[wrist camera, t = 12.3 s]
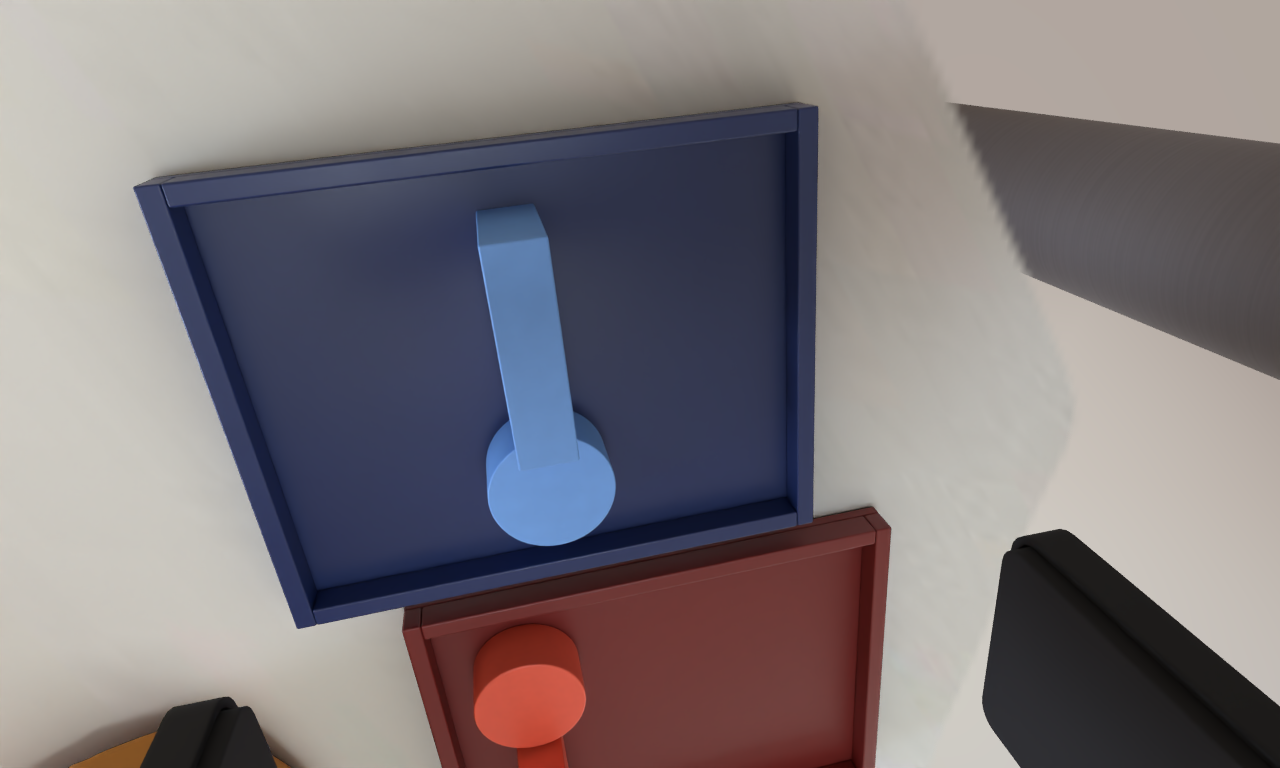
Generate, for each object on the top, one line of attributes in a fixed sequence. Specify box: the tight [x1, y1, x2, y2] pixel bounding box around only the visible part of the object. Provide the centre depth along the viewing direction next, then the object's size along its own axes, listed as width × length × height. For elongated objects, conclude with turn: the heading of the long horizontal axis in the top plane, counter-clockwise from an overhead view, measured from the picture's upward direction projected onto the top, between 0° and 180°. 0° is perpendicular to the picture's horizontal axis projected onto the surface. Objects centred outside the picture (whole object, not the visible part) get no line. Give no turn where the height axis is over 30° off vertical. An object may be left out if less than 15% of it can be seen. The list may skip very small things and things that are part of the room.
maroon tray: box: [402, 507, 891, 768], centre depth 29 cm, size 17×14×1 cm
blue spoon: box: [476, 204, 616, 546], centre depth 21 cm, size 10×4×4 cm, turn 5°
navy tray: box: [133, 102, 818, 629], centre depth 23 cm, size 17×14×1 cm
